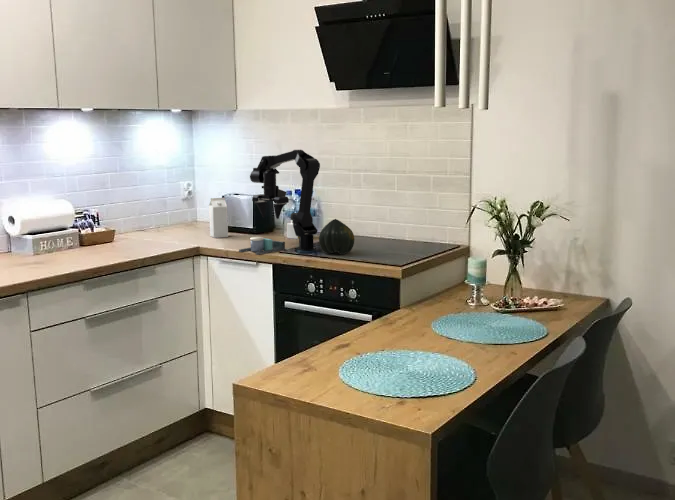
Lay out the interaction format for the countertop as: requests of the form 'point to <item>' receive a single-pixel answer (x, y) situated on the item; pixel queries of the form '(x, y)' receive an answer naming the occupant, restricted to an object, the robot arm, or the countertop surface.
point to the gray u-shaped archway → (275, 247)
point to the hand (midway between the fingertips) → (270, 218)
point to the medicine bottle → (291, 229)
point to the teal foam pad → (267, 244)
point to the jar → (257, 243)
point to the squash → (336, 238)
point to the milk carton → (218, 218)
